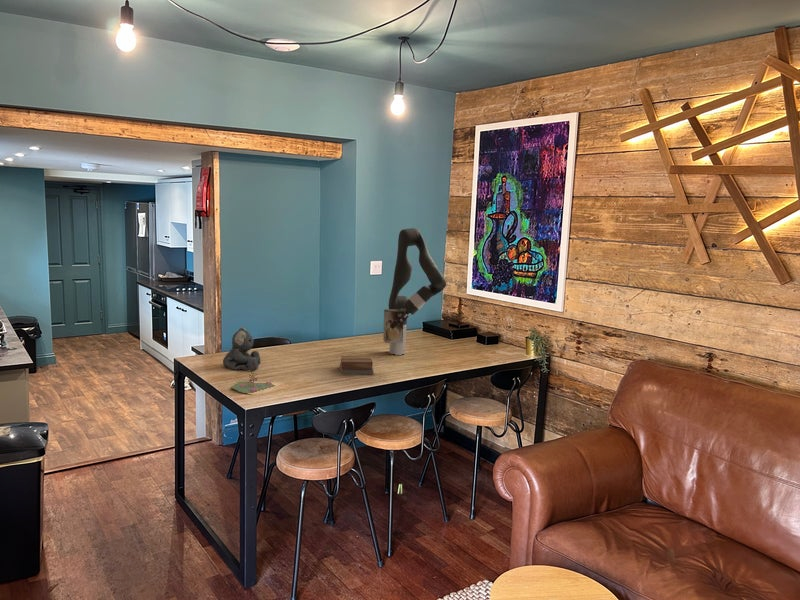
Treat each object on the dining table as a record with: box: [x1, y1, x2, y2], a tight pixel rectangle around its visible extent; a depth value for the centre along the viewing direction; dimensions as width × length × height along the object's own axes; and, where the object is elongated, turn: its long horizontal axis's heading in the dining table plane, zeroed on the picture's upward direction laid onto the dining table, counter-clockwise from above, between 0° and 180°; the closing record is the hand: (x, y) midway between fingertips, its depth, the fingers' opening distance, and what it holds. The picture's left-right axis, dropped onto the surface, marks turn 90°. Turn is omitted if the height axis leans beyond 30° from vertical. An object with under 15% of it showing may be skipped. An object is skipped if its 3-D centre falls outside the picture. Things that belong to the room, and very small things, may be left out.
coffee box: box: [382, 309, 404, 344], centre depth 302 cm, size 9×6×16 cm
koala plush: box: [222, 326, 262, 371], centre depth 297 cm, size 17×18×20 cm
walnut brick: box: [340, 355, 374, 370], centre depth 301 cm, size 12×15×4 cm
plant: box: [230, 370, 275, 394], centre depth 266 cm, size 25×21×9 cm
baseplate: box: [339, 362, 374, 376], centre depth 301 cm, size 14×16×2 cm
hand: (390, 326), depth 301 cm, fingers closed on coffee box, 6 cm apart
